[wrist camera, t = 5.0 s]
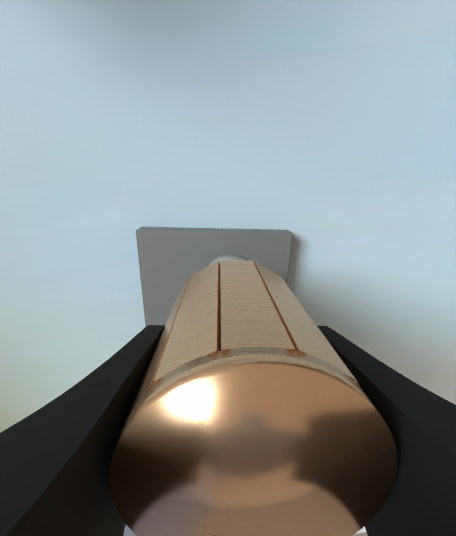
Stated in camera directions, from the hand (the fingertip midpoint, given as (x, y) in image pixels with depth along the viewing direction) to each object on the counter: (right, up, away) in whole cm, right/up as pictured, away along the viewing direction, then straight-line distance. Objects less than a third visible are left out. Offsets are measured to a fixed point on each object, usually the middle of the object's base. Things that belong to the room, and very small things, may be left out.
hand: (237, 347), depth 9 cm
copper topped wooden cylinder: (0, +1, +2) cm, 2 cm away
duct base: (-1, +1, +9) cm, 9 cm away
